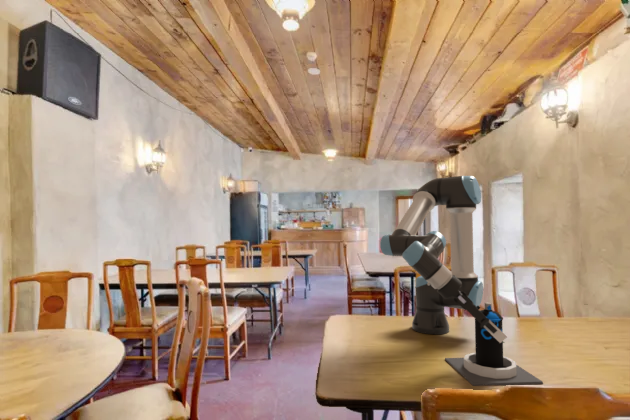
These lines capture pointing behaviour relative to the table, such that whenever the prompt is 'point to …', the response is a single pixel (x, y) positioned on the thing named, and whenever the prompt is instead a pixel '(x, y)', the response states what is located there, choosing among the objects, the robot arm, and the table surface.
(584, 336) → the table surface
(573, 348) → the table surface
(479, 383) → the can holder
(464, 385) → the table surface
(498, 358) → the aerosol can
